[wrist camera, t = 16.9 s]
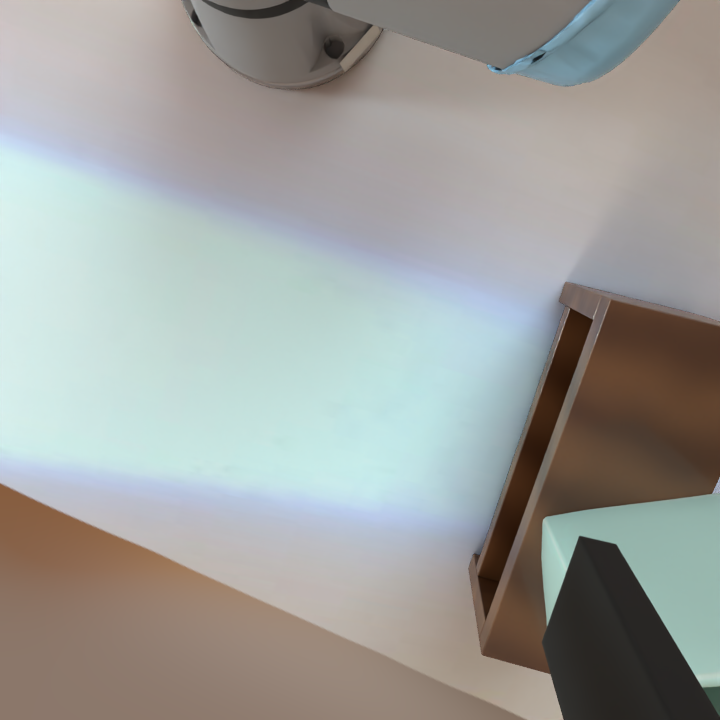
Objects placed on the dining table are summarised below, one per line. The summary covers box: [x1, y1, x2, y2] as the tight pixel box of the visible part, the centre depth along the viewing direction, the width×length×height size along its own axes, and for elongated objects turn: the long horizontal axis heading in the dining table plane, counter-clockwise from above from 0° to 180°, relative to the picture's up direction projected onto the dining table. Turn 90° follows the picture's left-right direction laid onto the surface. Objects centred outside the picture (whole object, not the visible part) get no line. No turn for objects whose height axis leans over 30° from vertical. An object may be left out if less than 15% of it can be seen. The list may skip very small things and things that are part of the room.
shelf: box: [469, 282, 720, 674], centre depth 39 cm, size 26×10×10 cm, turn 167°
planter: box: [541, 493, 720, 716], centre depth 26 cm, size 16×8×20 cm, turn 145°
